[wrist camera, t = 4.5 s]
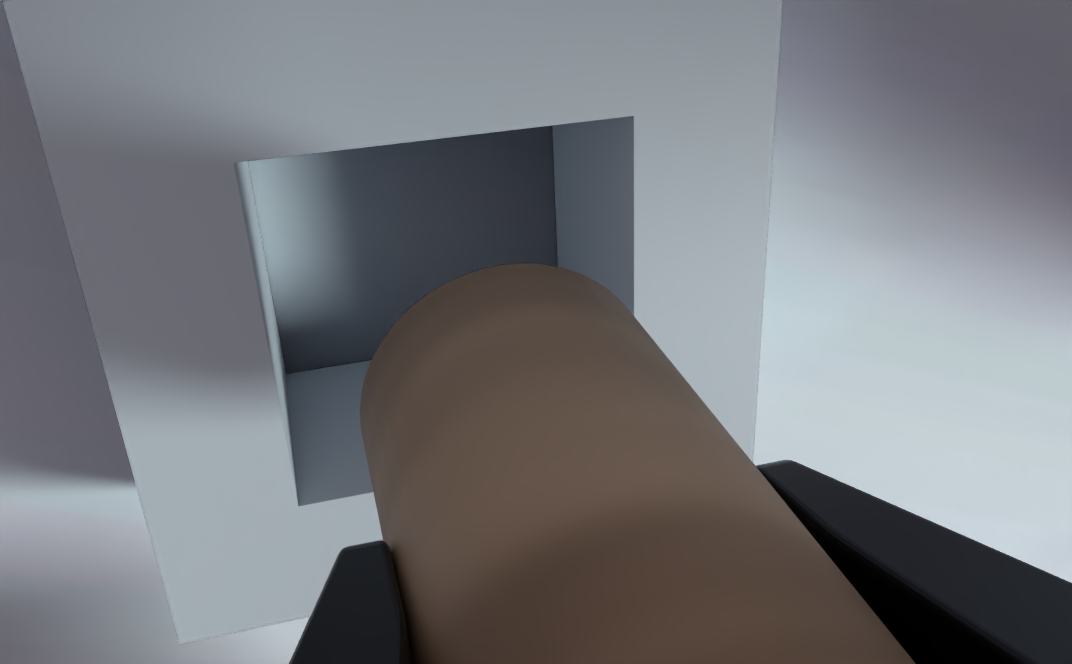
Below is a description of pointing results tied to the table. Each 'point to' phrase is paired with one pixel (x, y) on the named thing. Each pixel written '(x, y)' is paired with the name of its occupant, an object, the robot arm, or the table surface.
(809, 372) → the table surface
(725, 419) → the grey and wooden blocks
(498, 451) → the peg
